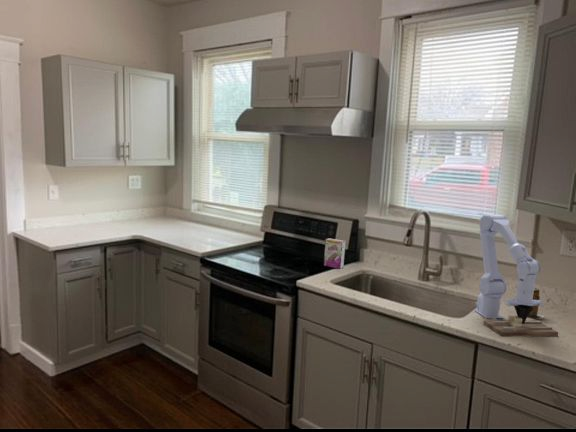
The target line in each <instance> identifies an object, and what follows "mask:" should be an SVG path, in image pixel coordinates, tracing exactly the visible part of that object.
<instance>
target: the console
mask: <svg viewBox="0 0 576 432" xmlns="http://www.w3.org/2000/svg"><path fill="white" fill-rule="evenodd" d="M507 322H508V320H483V325H484V326H486V327H487V328H489V329H490V330H491V331H493V332H494V333H496V334H497V335H498V336H501V337H546V336H547V337H553V336H554V337H558V335H559V332H558V331H556V330H555V329H553V327H552V326H547V325H546V324H544V323H543V322H542V321H540V320H526V321H525V323H524V324H522V326H521V327H511V326H510V325H508V324H507Z"/></svg>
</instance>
